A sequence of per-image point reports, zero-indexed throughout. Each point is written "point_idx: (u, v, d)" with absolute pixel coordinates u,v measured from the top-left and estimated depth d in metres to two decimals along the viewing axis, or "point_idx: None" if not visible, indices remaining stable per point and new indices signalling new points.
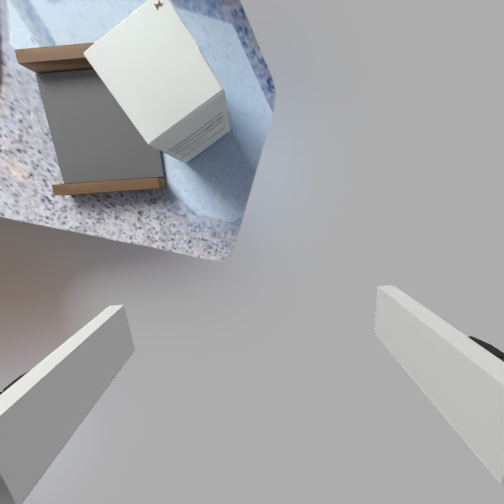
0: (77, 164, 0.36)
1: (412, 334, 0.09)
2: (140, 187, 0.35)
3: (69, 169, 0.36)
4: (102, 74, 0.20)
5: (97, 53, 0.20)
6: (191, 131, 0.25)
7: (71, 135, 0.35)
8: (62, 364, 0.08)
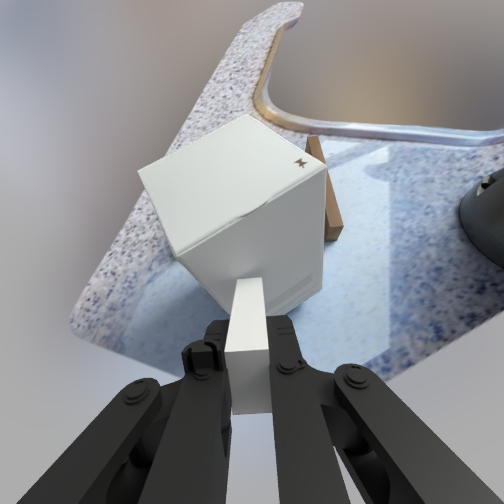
0: None
1: None
2: None
3: None
4: (222, 127, 0.16)
5: (243, 121, 0.16)
6: None
7: None
8: None
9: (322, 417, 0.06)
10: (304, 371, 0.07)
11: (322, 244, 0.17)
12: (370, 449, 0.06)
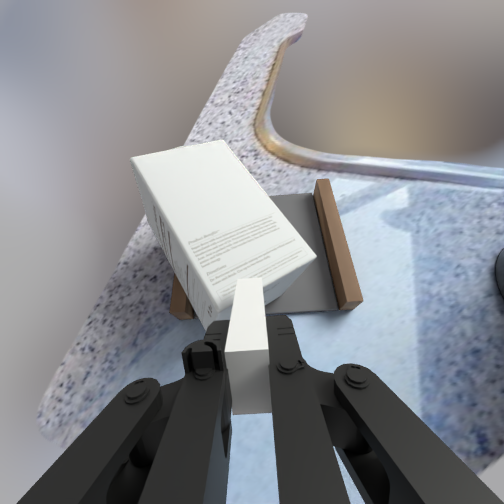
0: None
1: None
2: (175, 285, 0.24)
3: None
4: None
5: None
6: (153, 224, 0.22)
7: None
8: None
9: (322, 417, 0.06)
10: (304, 371, 0.07)
11: (258, 185, 0.20)
12: (370, 449, 0.06)
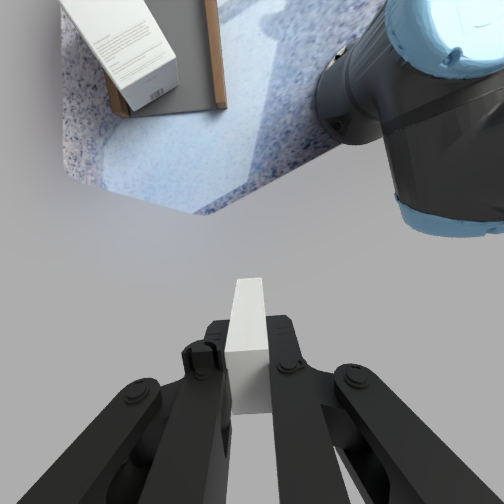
0: None
1: None
2: (110, 93, 0.37)
3: None
4: None
5: None
6: None
7: (155, 20, 0.37)
8: None
9: (322, 417, 0.06)
10: (304, 371, 0.07)
11: None
12: (370, 449, 0.06)
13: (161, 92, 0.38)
